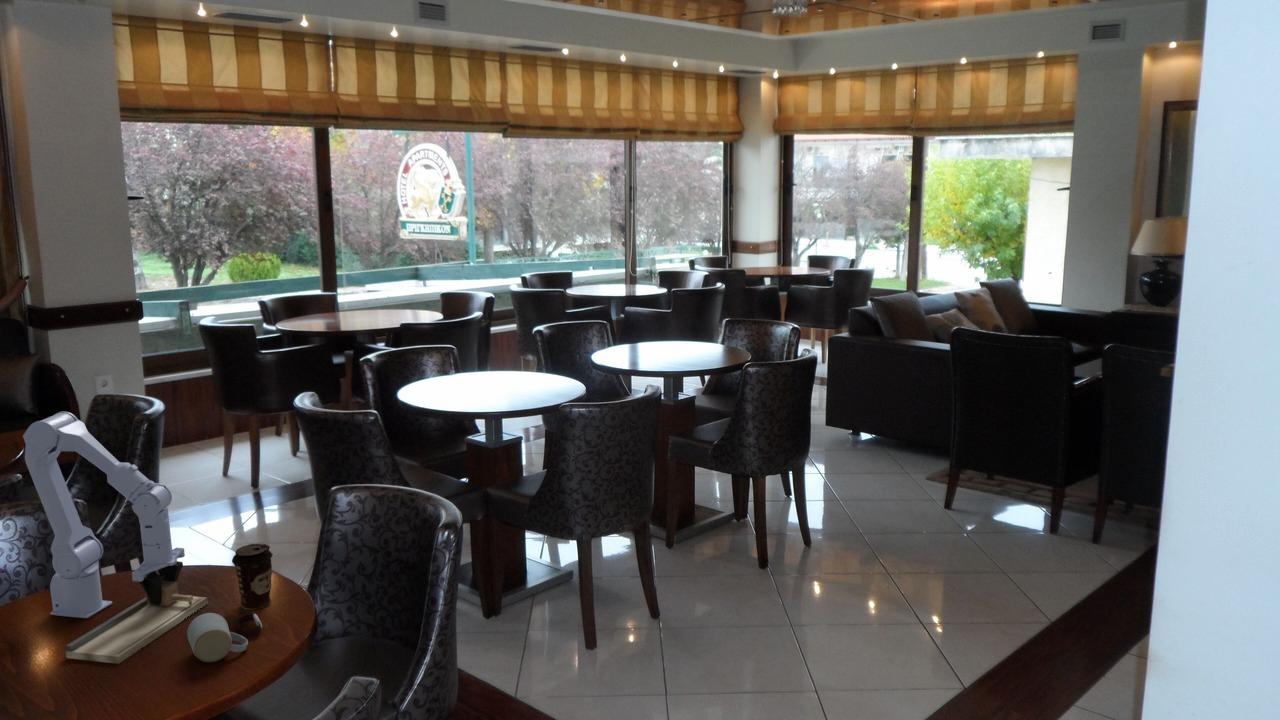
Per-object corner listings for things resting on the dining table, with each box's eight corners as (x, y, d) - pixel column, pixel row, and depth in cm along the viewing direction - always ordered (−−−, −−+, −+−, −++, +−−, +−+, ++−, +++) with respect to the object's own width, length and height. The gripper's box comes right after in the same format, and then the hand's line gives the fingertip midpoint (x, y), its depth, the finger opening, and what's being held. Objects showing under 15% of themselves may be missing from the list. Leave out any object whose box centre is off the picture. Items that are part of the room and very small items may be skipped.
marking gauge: (147, 604, 220) (145, 587, 219) (159, 596, 224) (157, 580, 223) (186, 608, 218) (184, 590, 217) (197, 600, 222) (196, 583, 221)
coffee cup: (284, 596, 228) (279, 542, 225) (267, 612, 220) (262, 556, 217) (247, 595, 229) (242, 541, 226) (229, 611, 221) (223, 555, 218)
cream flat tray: (66, 658, 200) (65, 645, 200) (160, 599, 227) (159, 588, 227) (118, 663, 198) (117, 651, 197) (207, 603, 225) (206, 592, 224)
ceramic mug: (195, 669, 195) (192, 632, 194) (188, 652, 202) (185, 616, 201) (252, 655, 201) (249, 619, 200) (243, 639, 208) (241, 604, 206)
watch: (267, 634, 210) (266, 618, 209) (244, 641, 207) (242, 624, 207) (255, 621, 216) (254, 606, 215) (233, 628, 213) (231, 612, 213)
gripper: (150, 554, 211) (156, 615, 214) (194, 530, 225) (199, 587, 228) (120, 552, 213) (127, 612, 215) (166, 528, 227) (172, 585, 229)
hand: (162, 599), depth 222 cm, fingers closed on marking gauge, 4 cm apart
